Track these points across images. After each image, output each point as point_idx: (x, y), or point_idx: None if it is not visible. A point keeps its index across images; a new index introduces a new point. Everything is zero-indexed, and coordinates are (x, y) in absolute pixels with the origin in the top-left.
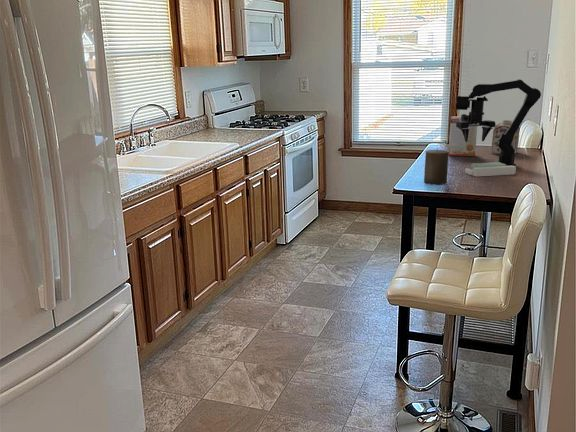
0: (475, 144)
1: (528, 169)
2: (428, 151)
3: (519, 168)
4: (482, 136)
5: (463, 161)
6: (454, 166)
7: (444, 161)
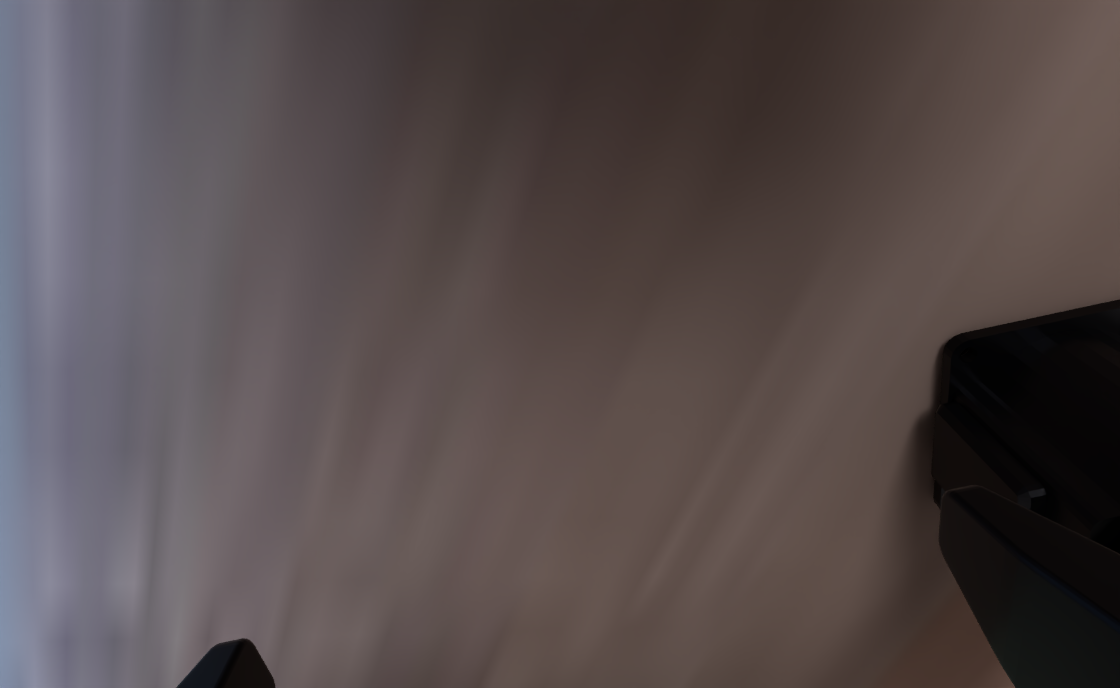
0: None
1: None
2: None
3: None
4: (1080, 634)
5: (400, 50)
6: (144, 513)
7: None
